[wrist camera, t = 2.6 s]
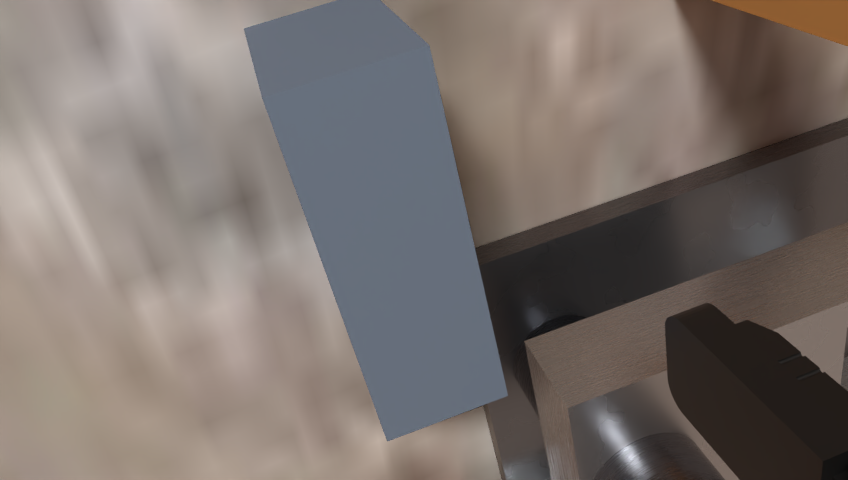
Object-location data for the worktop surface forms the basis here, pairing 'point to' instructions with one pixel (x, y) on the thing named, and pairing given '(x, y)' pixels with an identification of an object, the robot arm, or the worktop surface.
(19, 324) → the worktop surface
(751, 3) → the orange brown bar
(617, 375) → the gray desk organizer
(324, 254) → the blue rectangular block
